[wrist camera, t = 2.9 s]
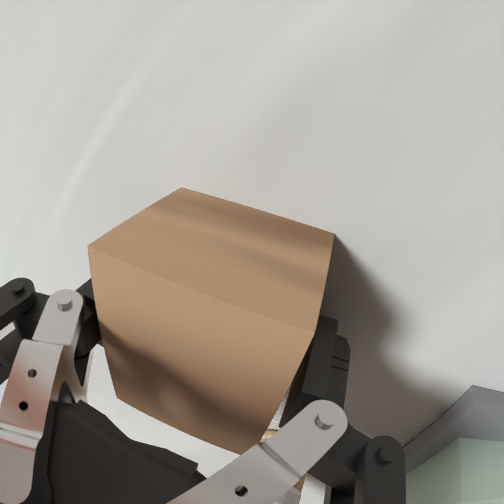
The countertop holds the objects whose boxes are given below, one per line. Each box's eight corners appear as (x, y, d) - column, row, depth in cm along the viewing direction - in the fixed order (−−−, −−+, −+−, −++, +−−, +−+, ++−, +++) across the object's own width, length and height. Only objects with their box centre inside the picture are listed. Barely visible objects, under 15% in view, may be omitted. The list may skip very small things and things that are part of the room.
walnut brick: (183, 186, 11) (87, 245, 7) (334, 232, 10) (314, 332, 6) (173, 323, 15) (117, 397, 10) (283, 365, 14) (250, 458, 10)
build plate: (472, 385, 11) (485, 476, 7) (565, 404, 9) (581, 465, 5) (349, 484, 18) (337, 539, 14) (444, 494, 17) (440, 541, 12)
